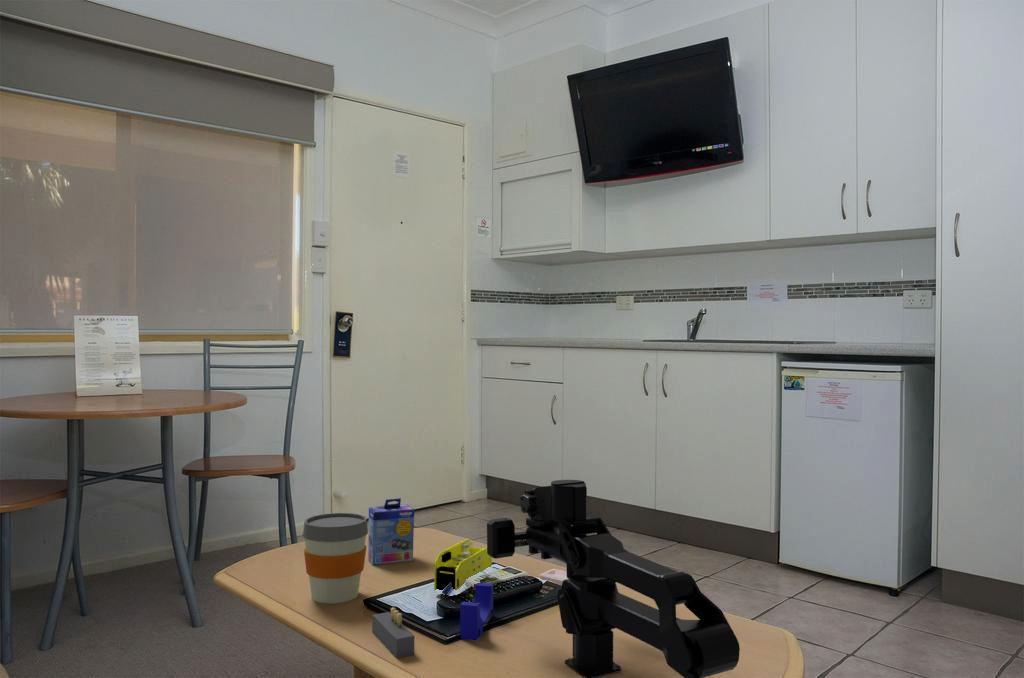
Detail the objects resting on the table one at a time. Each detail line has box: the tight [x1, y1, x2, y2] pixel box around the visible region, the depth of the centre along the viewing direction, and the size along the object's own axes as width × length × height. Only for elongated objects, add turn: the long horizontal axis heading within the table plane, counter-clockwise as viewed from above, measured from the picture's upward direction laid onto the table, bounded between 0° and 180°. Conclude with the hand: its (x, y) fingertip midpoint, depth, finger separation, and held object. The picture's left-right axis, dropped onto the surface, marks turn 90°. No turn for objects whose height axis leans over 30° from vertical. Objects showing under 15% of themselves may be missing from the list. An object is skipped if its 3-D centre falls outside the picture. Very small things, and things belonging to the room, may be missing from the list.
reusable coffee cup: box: [302, 512, 369, 604], centre depth 146 cm, size 13×13×15 cm
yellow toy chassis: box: [433, 538, 493, 590], centre depth 153 cm, size 16×6×8 cm, turn 156°
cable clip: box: [459, 582, 494, 641], centre depth 131 cm, size 12×4×6 cm, turn 169°
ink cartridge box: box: [367, 498, 415, 566], centre depth 171 cm, size 10×6×14 cm, turn 115°
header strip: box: [371, 607, 415, 659], centre depth 123 cm, size 12×3×5 cm, turn 29°
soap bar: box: [539, 568, 568, 586], centre depth 155 cm, size 5×9×2 cm, turn 51°
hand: (514, 524), depth 137 cm, fingers open, 9 cm apart
